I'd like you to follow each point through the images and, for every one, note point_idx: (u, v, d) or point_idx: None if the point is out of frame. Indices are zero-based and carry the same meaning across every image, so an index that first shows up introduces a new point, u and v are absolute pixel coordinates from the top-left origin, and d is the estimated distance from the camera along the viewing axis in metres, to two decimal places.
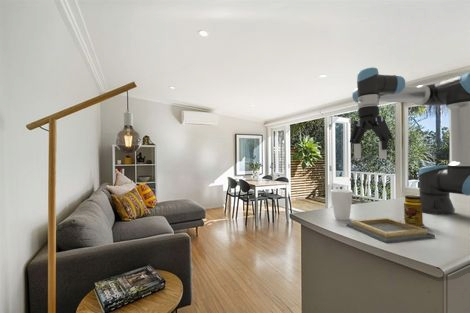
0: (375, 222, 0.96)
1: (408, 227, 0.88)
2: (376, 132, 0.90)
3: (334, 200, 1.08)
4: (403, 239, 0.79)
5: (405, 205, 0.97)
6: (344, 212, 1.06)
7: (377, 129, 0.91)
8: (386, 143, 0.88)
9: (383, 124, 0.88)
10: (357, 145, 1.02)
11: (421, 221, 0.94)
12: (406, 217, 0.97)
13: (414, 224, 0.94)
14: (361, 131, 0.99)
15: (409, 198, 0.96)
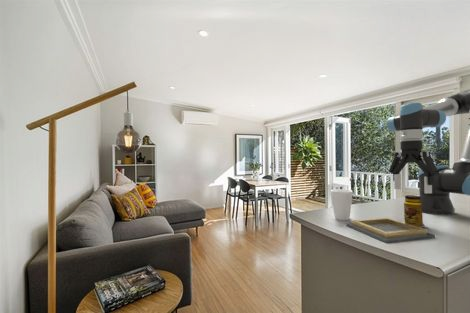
0: (375, 222, 0.96)
1: (408, 227, 0.88)
2: (421, 167, 0.92)
3: (334, 200, 1.08)
4: (403, 239, 0.79)
5: (405, 205, 0.97)
6: (344, 212, 1.06)
7: (422, 164, 0.93)
8: (432, 179, 0.90)
9: (429, 160, 0.90)
10: (397, 176, 1.04)
11: (421, 221, 0.94)
12: (406, 217, 0.97)
13: (414, 224, 0.94)
14: (403, 163, 1.01)
15: (409, 198, 0.96)
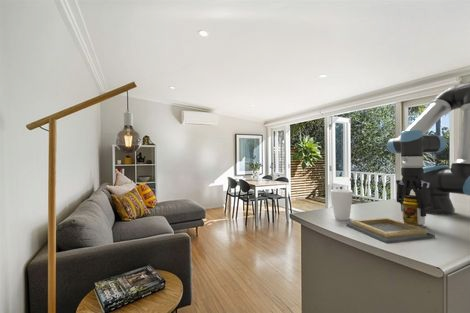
0: (375, 222, 0.96)
1: (408, 227, 0.88)
2: (417, 197, 0.94)
3: (334, 200, 1.08)
4: (403, 239, 0.79)
5: (404, 205, 0.98)
6: (344, 212, 1.06)
7: (419, 194, 0.94)
8: (425, 210, 0.93)
9: (426, 192, 0.91)
10: None
11: None
12: (405, 216, 0.97)
13: (413, 224, 0.95)
14: (407, 190, 0.99)
15: (408, 198, 0.96)
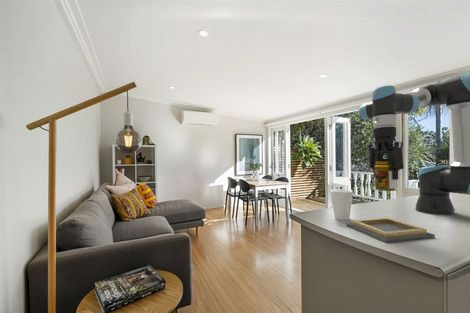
0: (375, 222, 0.96)
1: (408, 227, 0.88)
2: (389, 159, 0.86)
3: (334, 200, 1.08)
4: (403, 239, 0.79)
5: (375, 169, 0.90)
6: (344, 212, 1.06)
7: (391, 155, 0.86)
8: (397, 173, 0.85)
9: (398, 152, 0.83)
10: None
11: None
12: (376, 181, 0.89)
13: (384, 188, 0.87)
14: (379, 153, 0.91)
15: (379, 160, 0.88)
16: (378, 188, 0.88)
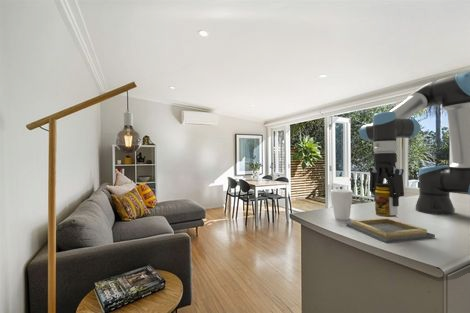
0: (375, 222, 0.96)
1: (408, 227, 0.88)
2: (389, 185, 0.86)
3: (334, 200, 1.08)
4: (403, 239, 0.79)
5: (376, 194, 0.89)
6: (344, 212, 1.06)
7: (392, 182, 0.86)
8: (397, 200, 0.85)
9: (399, 179, 0.83)
10: None
11: None
12: (376, 206, 0.89)
13: (384, 214, 0.87)
14: (379, 178, 0.91)
15: (380, 186, 0.88)
16: (378, 214, 0.88)
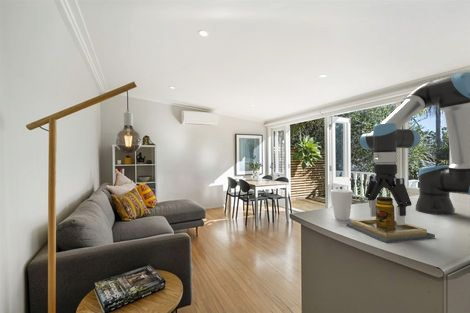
0: (375, 222, 0.96)
1: (408, 227, 0.88)
2: (394, 195, 0.84)
3: (334, 200, 1.08)
4: (403, 239, 0.79)
5: (376, 207, 0.90)
6: (344, 212, 1.06)
7: (395, 191, 0.85)
8: (404, 209, 0.82)
9: (402, 188, 0.82)
10: (373, 202, 0.95)
11: (393, 225, 0.86)
12: (377, 220, 0.89)
13: (385, 228, 0.87)
14: (377, 188, 0.92)
15: (380, 200, 0.88)
16: (379, 227, 0.88)
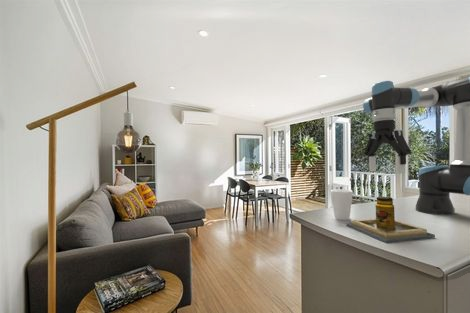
0: (375, 222, 0.96)
1: (408, 227, 0.88)
2: (394, 146, 0.90)
3: (334, 200, 1.08)
4: (403, 239, 0.79)
5: (376, 207, 0.90)
6: (344, 212, 1.06)
7: (394, 143, 0.90)
8: (404, 158, 0.87)
9: (400, 139, 0.88)
10: (372, 158, 1.01)
11: (393, 225, 0.86)
12: (377, 220, 0.89)
13: (385, 228, 0.87)
14: (376, 144, 0.98)
15: (380, 200, 0.88)
16: (379, 227, 0.88)
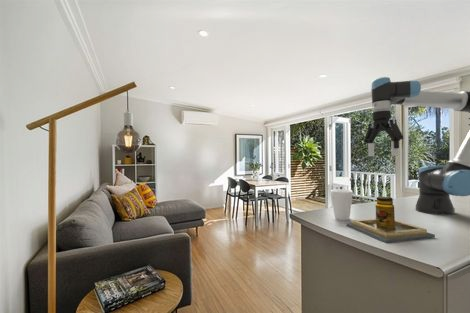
0: (375, 222, 0.96)
1: (408, 227, 0.88)
2: (389, 133, 1.05)
3: (334, 200, 1.08)
4: (403, 239, 0.79)
5: (376, 207, 0.90)
6: (344, 212, 1.06)
7: (389, 130, 1.05)
8: (398, 142, 1.02)
9: (395, 126, 1.03)
10: (371, 144, 1.16)
11: (393, 225, 0.86)
12: (377, 220, 0.89)
13: (385, 228, 0.87)
14: (375, 132, 1.13)
15: (380, 200, 0.88)
16: (379, 227, 0.88)
